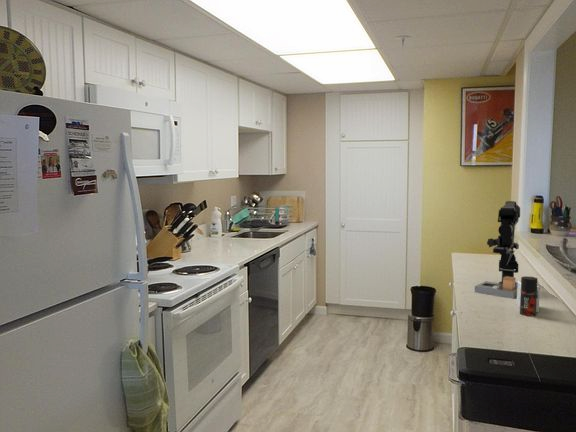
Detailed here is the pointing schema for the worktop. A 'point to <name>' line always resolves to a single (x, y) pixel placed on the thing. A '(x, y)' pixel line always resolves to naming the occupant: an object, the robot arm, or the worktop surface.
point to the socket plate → (495, 289)
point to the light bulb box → (520, 295)
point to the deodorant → (528, 296)
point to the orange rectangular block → (509, 283)
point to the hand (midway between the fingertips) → (505, 265)
